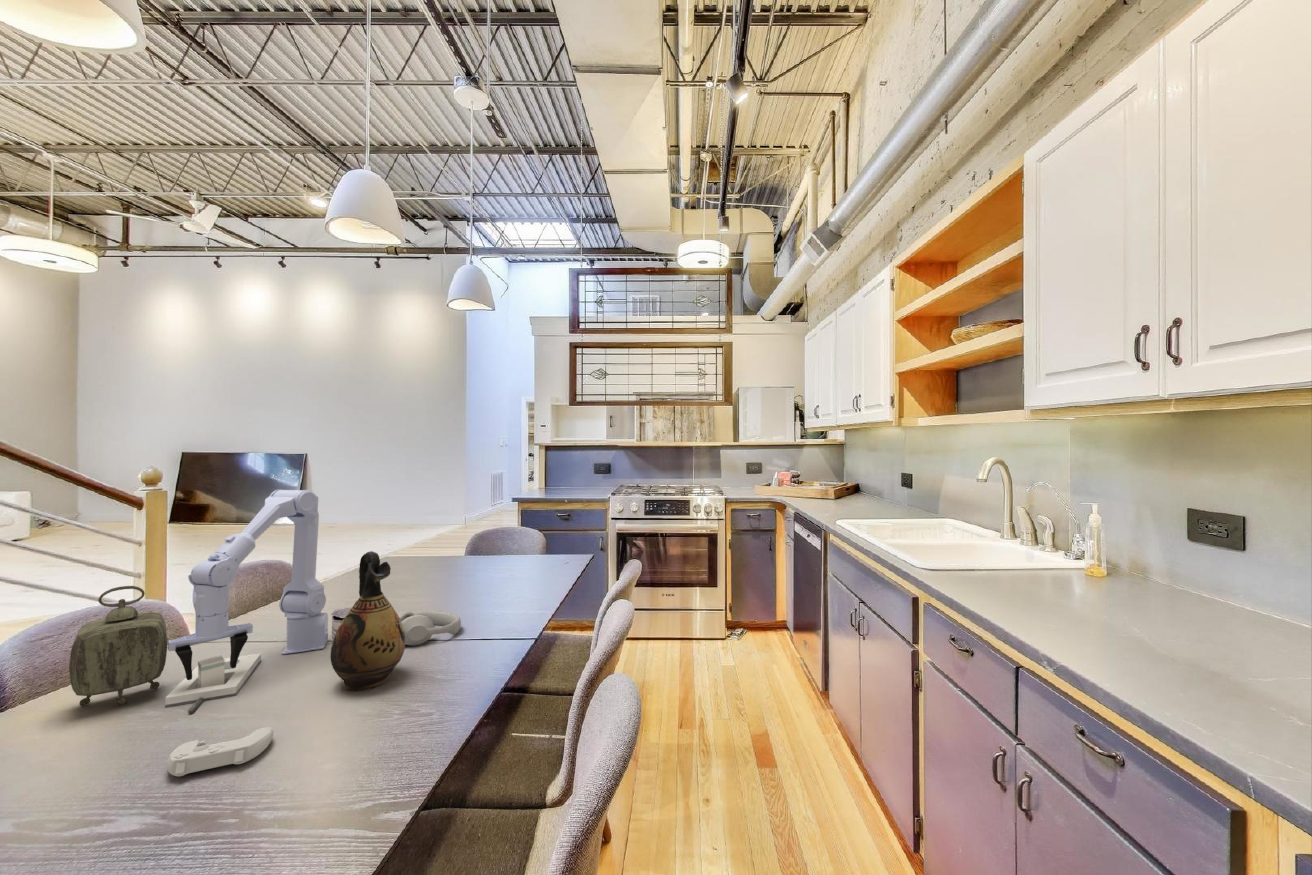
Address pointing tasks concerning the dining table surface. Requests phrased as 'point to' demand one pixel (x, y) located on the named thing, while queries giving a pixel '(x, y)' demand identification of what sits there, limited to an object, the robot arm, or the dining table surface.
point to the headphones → (427, 625)
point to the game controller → (217, 753)
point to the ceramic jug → (368, 632)
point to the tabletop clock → (118, 651)
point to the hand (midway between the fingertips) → (211, 672)
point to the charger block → (211, 672)
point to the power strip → (231, 686)
